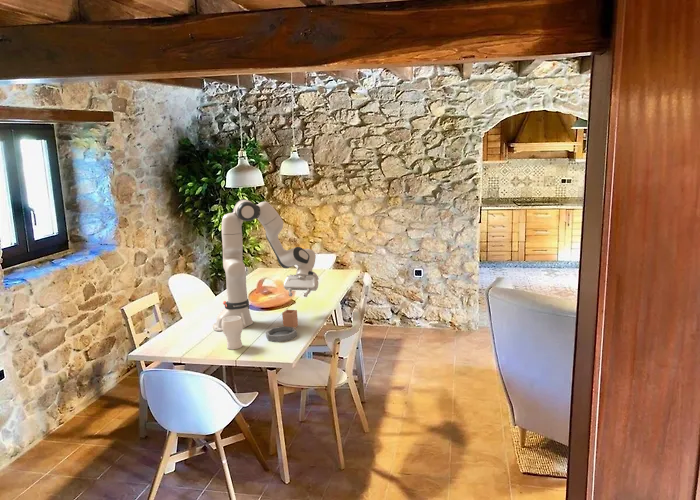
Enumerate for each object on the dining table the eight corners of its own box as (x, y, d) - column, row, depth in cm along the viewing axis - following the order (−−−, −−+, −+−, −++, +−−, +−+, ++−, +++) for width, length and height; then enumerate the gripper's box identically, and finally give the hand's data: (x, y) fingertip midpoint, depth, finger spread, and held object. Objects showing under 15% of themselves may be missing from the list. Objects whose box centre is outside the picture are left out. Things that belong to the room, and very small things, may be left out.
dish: (270, 343, 295) (269, 338, 295) (264, 334, 309) (264, 329, 309) (299, 338, 300) (298, 333, 299) (292, 329, 314) (291, 324, 313)
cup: (226, 352, 287) (223, 323, 285) (222, 345, 297) (218, 317, 294) (247, 347, 291) (244, 319, 289) (242, 341, 301) (239, 314, 298)
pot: (293, 329, 315) (292, 313, 314) (283, 328, 317) (282, 312, 316) (298, 325, 321) (296, 310, 319) (288, 325, 323) (287, 309, 321)
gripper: (285, 271, 335) (279, 292, 328) (317, 272, 328) (312, 294, 321) (289, 277, 340) (283, 298, 333) (321, 278, 333) (315, 299, 326)
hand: (297, 296), depth 327 cm, fingers open, 8 cm apart
